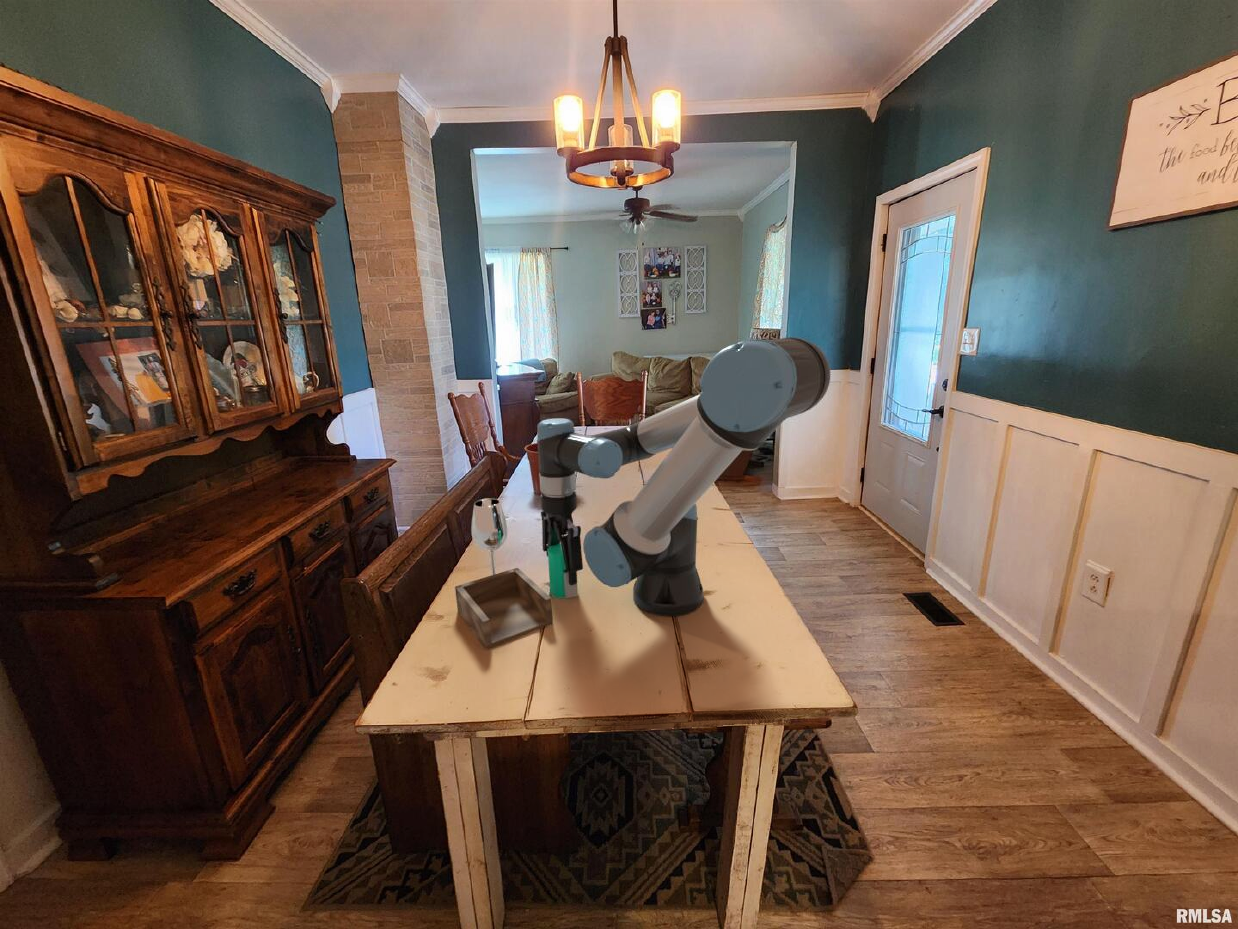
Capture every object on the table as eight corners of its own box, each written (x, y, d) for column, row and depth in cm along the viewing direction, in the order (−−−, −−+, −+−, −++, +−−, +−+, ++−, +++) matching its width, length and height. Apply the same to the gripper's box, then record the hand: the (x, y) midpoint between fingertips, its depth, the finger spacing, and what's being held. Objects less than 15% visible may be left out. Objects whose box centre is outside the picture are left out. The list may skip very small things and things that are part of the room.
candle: (577, 584, 118) (575, 536, 115) (576, 597, 113) (574, 547, 109) (551, 584, 118) (548, 536, 115) (548, 598, 112) (545, 548, 109)
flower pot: (524, 485, 189) (521, 443, 185) (568, 481, 194) (566, 439, 189) (531, 500, 174) (527, 454, 169) (578, 494, 179) (576, 449, 174)
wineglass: (477, 594, 114) (468, 510, 109) (476, 578, 122) (468, 498, 116) (512, 589, 116) (506, 506, 111) (510, 573, 124) (504, 495, 118)
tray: (552, 623, 103) (551, 598, 102) (485, 649, 95) (483, 621, 94) (519, 591, 116) (517, 567, 114) (457, 611, 108) (454, 586, 107)
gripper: (598, 500, 103) (601, 602, 110) (552, 477, 119) (557, 568, 125) (565, 508, 99) (570, 614, 106) (522, 484, 115) (529, 577, 121)
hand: (563, 589), depth 115 cm, fingers open, 6 cm apart
